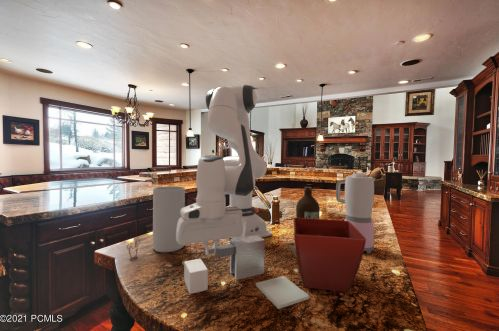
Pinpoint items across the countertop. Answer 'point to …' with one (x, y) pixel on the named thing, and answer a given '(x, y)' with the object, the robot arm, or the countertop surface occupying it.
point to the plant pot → (328, 253)
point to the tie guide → (247, 257)
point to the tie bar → (225, 250)
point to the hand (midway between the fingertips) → (210, 253)
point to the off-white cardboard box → (195, 276)
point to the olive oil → (307, 206)
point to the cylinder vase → (167, 217)
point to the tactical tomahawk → (292, 248)
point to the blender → (359, 205)
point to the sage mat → (282, 291)
